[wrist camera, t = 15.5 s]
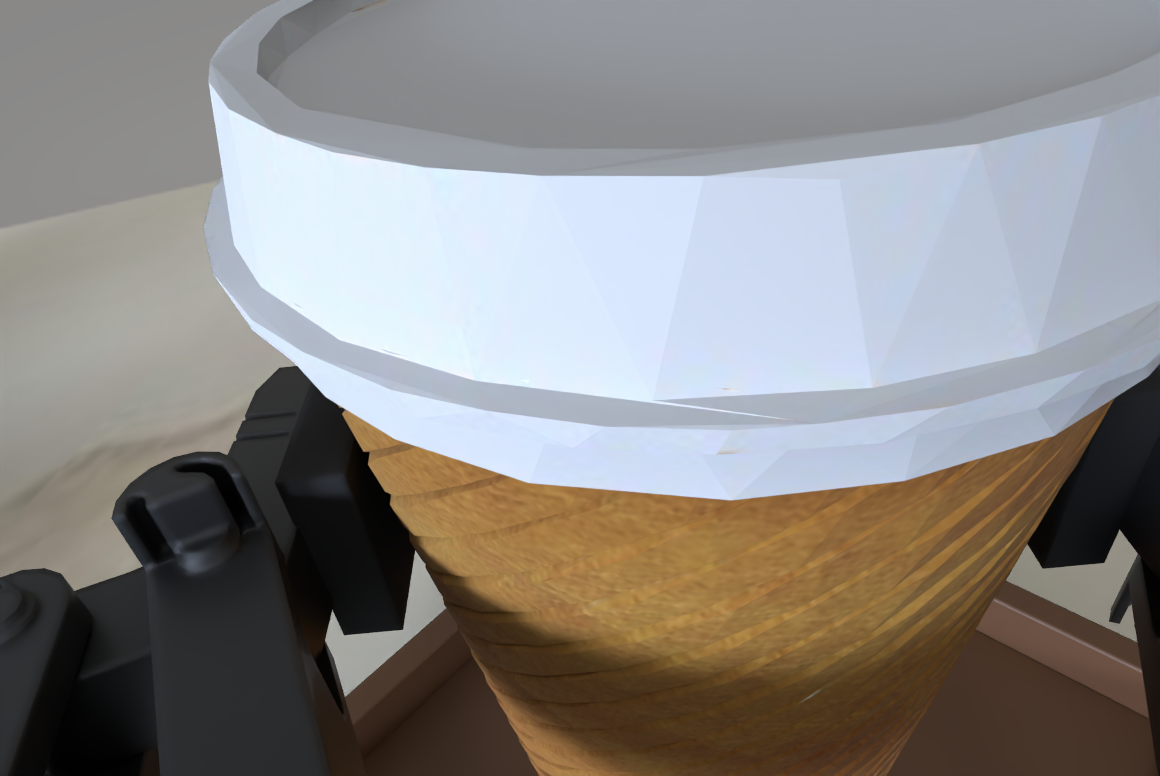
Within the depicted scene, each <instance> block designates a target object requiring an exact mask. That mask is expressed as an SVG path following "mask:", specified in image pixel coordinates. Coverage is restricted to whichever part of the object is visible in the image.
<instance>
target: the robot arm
mask: <svg viewBox="0 0 1160 776" xmlns="http://www.w3.org/2000/svg"><path fill="white" fill-rule="evenodd" d="M344 410H345V409H344V408H339V406H338V404H336V403H335V402H333V401H331V400H330V399H328V398H326V397H325V396H324V395H323V394H322V392H321V391H320V390H319V389H318V388H317V387H316V386H315V385H314V384H313V383H312V381H311V380H310V379H309V378H308V377H307V376H306V375H305V374H304V373H303V372H302V371H301V369H300V368H299V367H298V366H293V367H283V368H279V369H278V370H277V371H276V372H275V373H274V374H273V375H272V376H271V377H270V378H269V379H268V380H267V381H266V382H265V383H264V384H263V385H262V386H261V387H260V388H258V389H257V390H256V392H255V394H254V397H253V399H252V401H251V403H250V406H249V408H248V410H247V412H246V415H245V418H246V420H245V421H242V424H241V426H240V428H239V430H238V433H237V435H236V438H237V440H236V441H234V442H233V444H232V446H231V449H230V451H229V453H228V455H225V454H223V453H220V452H194V453H190V454H186V455H181V456H177V457H173V458H171V459H169V460H167V461H165V462H163V463H161V464H158V465H156V466H154V467H152V468H150V469H149V470H147V471H146V472H145V473H143V474H142V475H141V476H139V477H138V478H137V479H135V480H134V481H133V482H131V483H130V484H129V485H128V487H127V488H126V489H125V490H124V492H123V493H122V494H121V496H120V497H119V498H118V499H117V501H116V503H115V507H114V511H113V514H112V518H111V519H112V520H113V522H114V523H115V525H116V526H117V528H118V529H119V531H120V532H121V534H122V535H123V537H124V538H125V540H126V541H127V543H128V544H129V546H130V548H131V549H132V551H133V552H134V554H135V555H136V557H137V558H138V560H139V561H140V563H141V564H142V566H143V567H141V568H138V569H136V570H134V571H131V572H129V573H126V574H123V575H120V576H117V577H114V578H111V579H108V580H105V581H102V582H99V583H97V584H94V585H91V586H88V587H85V588H82V589H79V590H76V591H74V590H73V589H72V587H71V586H70V585H69V583H68V582H67V581H66V580H65V578H64V577H63V576H62V574H60V573H57V572H54V571H51V570H48V569H45V568H43V569H30V570H21V571H18V572H15V573H13V574H10V575H7V576H4V577H1V578H0V776H367V773H366V770H365V766H364V763H363V759H362V756H361V752H360V749H359V745H358V742H357V738H356V735H355V731H354V728H353V724H352V721H351V717H350V714H349V710H348V707H347V703H346V700H345V696H344V693H343V689H342V686H341V682H340V679H339V675H338V672H337V668H336V665H335V661H334V658H333V656H332V654H331V652H330V650H329V648H328V646H327V644H326V642H325V637H326V633H327V629H328V625H329V621H330V617H331V612H332V610H333V612H334V614H335V616H336V618H337V621H338V623H339V625H340V627H341V629H342V631H343V634H344V635H351V634H362V633H372V632H383V631H393V630H403V626H404V619H405V613H406V606H407V600H408V593H409V586H410V580H411V573H412V567H413V560H414V554H415V548H414V547H413V545H412V544H411V542H410V538H409V531H408V530H407V529H406V528H404V526H403V524H402V523H401V521H400V520H399V518H398V517H397V515H396V513H395V512H394V510H393V509H392V507H391V506H390V500H391V494H389V493H387V492H385V491H384V489H383V488H382V486H381V484H380V483H379V481H378V480H377V478H376V476H375V475H374V473H373V472H372V470H371V469H370V467H369V465H368V461H369V454H370V452H363V450H362V448H361V447H360V445H359V443H358V441H357V440H356V438H355V436H354V434H353V432H352V431H351V429H350V427H349V425H348V424H347V422H346V420H345V418H344V417H343V415H342V413H343V412H344ZM1119 529H1120V530H1121V532H1122V533H1123V534H1124V536H1125V537H1126V538H1127V540H1128V541H1129V542H1130V544H1131V545H1132V546H1133V548H1134V549H1135V550H1136V552H1137V553H1138V555H1137V557H1136V559H1135V561H1134V563H1133V565H1132V567H1131V569H1130V571H1129V573H1128V575H1127V577H1126V579H1125V581H1124V583H1123V585H1122V587H1121V589H1120V591H1119V593H1118V595H1117V597H1116V599H1115V602H1114V604H1113V606H1112V608H1111V613H1110V619H1109V622H1114V623H1118V624H1120V622H1121V620H1122V618H1123V616H1124V614H1125V612H1126V610H1127V608H1128V606H1130V605H1131V604H1132V609H1133V616H1134V622H1135V624H1134V627H1135V629H1136V635H1137V642H1138V648H1139V655H1140V661H1141V668H1142V674H1143V681H1144V687H1145V694H1146V700H1147V707H1148V713H1149V720H1150V726H1151V733H1152V739H1153V746H1154V752H1155V759H1156V765H1157V772H1158V776H1160V364H1159V365H1158V366H1157V367H1156V368H1155V370H1154V371H1153V372H1152V373H1151V374H1150V375H1149V376H1148V377H1147V378H1145V379H1144V380H1142V381H1140V382H1139V383H1137V384H1136V385H1134V386H1132V387H1131V388H1129V389H1128V390H1126V391H1125V392H1123V393H1121V394H1120V395H1118V396H1117V397H1115V398H1114V400H1113V402H1112V404H1111V405H1110V407H1109V409H1108V411H1107V412H1106V414H1105V416H1104V418H1103V419H1102V421H1101V423H1100V425H1099V427H1098V428H1097V430H1096V432H1095V434H1094V435H1093V437H1092V439H1091V441H1090V442H1089V444H1088V446H1087V448H1086V449H1085V451H1084V453H1083V455H1082V456H1081V458H1080V460H1079V462H1078V464H1077V465H1076V467H1075V468H1074V470H1073V471H1072V472H1071V474H1070V475H1069V477H1068V478H1067V479H1066V481H1065V482H1064V483H1063V485H1062V486H1061V488H1060V490H1059V491H1058V493H1057V495H1056V496H1055V498H1054V500H1053V501H1052V503H1051V505H1050V507H1049V508H1048V510H1047V512H1046V513H1045V515H1044V517H1043V518H1042V520H1041V522H1040V523H1039V525H1038V527H1037V528H1036V530H1035V531H1034V533H1033V534H1032V536H1031V538H1030V539H1029V541H1028V543H1027V544H1028V546H1029V547H1030V549H1031V551H1032V552H1033V554H1034V555H1035V557H1036V559H1037V560H1038V562H1039V563H1040V565H1041V567H1042V568H1043V569H1044V568H1055V567H1065V566H1076V565H1087V564H1097V563H1104V562H1105V560H1106V558H1107V555H1108V553H1109V551H1110V549H1111V547H1112V545H1113V542H1114V540H1115V538H1116V536H1117V534H1118V532H1119Z"/></svg>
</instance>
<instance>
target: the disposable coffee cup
mask: <svg viewBox="0 0 1160 776" xmlns="http://www.w3.org/2000/svg"><path fill="white" fill-rule="evenodd" d="M209 87H210V94H211V100H212V106H213V113H214V120H215V126H216V133H217V139H218V146H219V152H220V158H221V165H222V171H223V176H222V177H221V179H220V180H219V182H218V183H217V185H216V186H215V187H214V189H213V190H212V194H211V198H210V202H209V207H208V211H207V215H206V219H205V224H204V228H203V230H204V234H205V239H206V243H207V248H208V253H209V257H210V262H211V267H212V271H213V274H214V276H215V277H216V279H217V280H218V281H219V283H220V284H221V286H222V287H223V288H224V290H225V291H226V293H227V294H228V296H229V297H230V298H231V300H232V301H233V303H234V304H235V305H236V307H237V308H238V310H239V311H240V313H241V314H242V315H243V317H244V318H245V320H246V321H247V323H248V324H249V325H250V327H251V328H252V330H253V331H254V332H255V333H257V334H258V335H259V336H261V337H262V338H263V339H265V340H266V341H267V342H268V343H270V344H271V345H272V346H274V347H275V348H276V349H278V350H279V351H280V352H282V353H283V354H284V355H286V356H287V357H288V358H290V359H291V360H292V361H293V362H294V363H295V364H296V365H297V366H298V367H299V368H300V369H301V371H302V372H303V373H304V374H305V375H306V376H307V377H308V378H309V379H310V380H311V381H312V383H313V384H314V385H315V386H316V387H317V388H318V389H319V390H320V391H321V392H322V394H323V395H324V396H325V397H326V398H328V399H330V400H331V401H333V402H335V403H336V404H338V406H339V408H344V409H345V410H344V412H343V413H342V415H343V417H344V418H345V420H346V422H347V424H348V425H349V427H350V429H351V431H352V432H353V434H354V436H355V438H356V440H357V441H358V443H359V445H360V447H361V448H362V450H363V452H370V454H369V461H368V465H369V467H370V469H371V470H372V472H373V473H374V475H375V476H376V478H377V480H378V481H379V483H380V484H381V486H382V488H383V489H384V491H385V492H387V493H389V494H391V500H390V506H391V507H392V509H393V510H394V512H395V513H396V515H397V517H398V518H399V520H400V521H401V523H402V524H403V526H404V528H406V529H407V530H408V531H409V538H410V542H411V544H412V545H413V547H414V548H415V550H416V552H417V553H418V555H419V556H420V558H421V559H422V561H423V562H424V563H425V564H426V569H427V571H428V573H429V575H430V576H431V578H432V580H433V582H434V583H435V585H436V587H437V589H438V590H439V592H440V593H441V595H442V596H443V600H444V605H445V606H446V608H447V609H448V611H449V612H450V614H451V615H452V617H453V618H454V620H455V621H456V623H457V628H458V630H459V631H460V633H461V634H462V636H463V638H464V639H465V641H466V642H467V644H468V645H469V647H470V649H471V653H472V656H473V657H474V659H475V660H476V662H477V663H478V665H479V666H480V668H481V669H482V671H483V672H484V675H485V678H486V681H487V684H488V685H489V686H490V688H491V689H492V690H493V692H494V693H495V694H496V698H497V701H498V703H499V704H500V706H501V707H502V709H503V710H504V712H505V713H506V715H507V718H508V721H509V723H510V724H511V726H512V728H513V729H514V731H515V732H516V734H517V735H518V738H519V741H520V743H521V744H522V746H523V747H524V749H525V751H526V752H527V754H528V757H529V759H530V761H531V763H532V764H533V766H534V768H535V769H536V771H537V773H538V776H886V775H887V774H888V772H889V770H890V769H891V767H892V765H893V763H894V762H895V760H896V758H897V757H898V755H899V753H900V752H901V750H902V748H903V747H904V745H905V743H906V742H907V740H908V739H909V737H910V735H911V734H912V732H913V730H914V729H915V727H916V725H917V724H918V722H919V721H920V719H921V718H922V717H923V715H924V714H925V712H926V711H927V709H928V707H929V705H930V704H931V702H932V700H933V699H934V697H935V695H936V694H937V692H938V690H939V689H940V687H941V685H942V684H943V682H944V680H945V679H946V677H947V675H948V673H949V672H950V670H951V668H952V667H953V665H954V663H955V662H956V660H957V658H958V657H959V655H960V653H961V652H962V650H963V648H964V646H965V645H966V643H967V642H968V640H969V638H970V637H971V636H972V634H973V633H974V631H975V629H976V628H977V626H978V624H979V622H980V621H981V619H982V617H983V616H984V614H985V612H986V611H987V609H988V607H989V606H990V604H991V602H992V601H993V599H994V598H995V596H996V595H997V594H998V592H999V591H1000V589H1001V588H1002V586H1003V584H1004V583H1005V581H1006V579H1007V577H1008V576H1009V574H1010V572H1011V570H1012V569H1013V567H1014V565H1015V563H1016V562H1017V560H1018V558H1019V557H1020V555H1021V553H1022V551H1023V550H1024V548H1025V546H1026V545H1027V543H1028V541H1029V539H1030V538H1031V536H1032V534H1033V533H1034V531H1035V530H1036V528H1037V527H1038V525H1039V523H1040V522H1041V520H1042V518H1043V517H1044V515H1045V513H1046V512H1047V510H1048V508H1049V507H1050V505H1051V503H1052V501H1053V500H1054V498H1055V496H1056V495H1057V493H1058V491H1059V490H1060V488H1061V486H1062V485H1063V483H1064V482H1065V481H1066V479H1067V478H1068V477H1069V475H1070V474H1071V472H1072V471H1073V470H1074V468H1075V467H1076V465H1077V464H1078V462H1079V460H1080V458H1081V456H1082V455H1083V453H1084V451H1085V449H1086V448H1087V446H1088V444H1089V442H1090V441H1091V439H1092V437H1093V435H1094V434H1095V432H1096V430H1097V428H1098V427H1099V425H1100V423H1101V421H1102V419H1103V418H1104V416H1105V414H1106V412H1107V411H1108V409H1109V407H1110V405H1111V404H1112V402H1113V400H1114V398H1115V397H1117V396H1118V395H1120V394H1121V393H1123V392H1125V391H1126V390H1128V389H1129V388H1131V387H1132V386H1134V385H1136V384H1137V383H1139V382H1140V381H1142V380H1144V379H1145V378H1147V377H1148V376H1149V375H1150V374H1151V373H1152V372H1153V371H1154V370H1155V368H1156V367H1157V366H1158V365H1159V364H1160V0H280V1H278V2H276V3H274V4H273V5H270V6H268V7H267V8H265V9H262V10H260V11H258V12H257V13H255V14H254V15H253V16H252V17H251V18H249V19H248V20H247V21H246V22H245V23H243V24H242V25H241V26H240V27H238V29H236V30H235V31H234V32H232V33H231V34H230V35H229V36H227V37H226V38H225V39H224V40H223V41H222V43H221V44H220V47H219V48H218V49H217V51H216V53H215V54H214V56H213V57H212V59H211V61H210V67H209Z"/></svg>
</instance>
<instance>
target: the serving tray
mask: <svg viewBox="0 0 1160 776" xmlns="http://www.w3.org/2000/svg"><path fill="white" fill-rule="evenodd" d="M345 700H346V703H347V707H348V710H349V714H350V717H351V721H352V724H353V728H354V731H355V735H356V738H357V742H358V745H359V749H360V752H361V756H362V759H363V763H364V766H365V770H366V773H367V776H538V773H537V771H536V769H535V768H534V766H533V764H532V763H531V761H530V759H529V757H528V754H527V752H526V751H525V749H524V747H523V746H522V744H521V743H520V741H519V738H518V735H517V734H516V732H515V731H514V729H513V728H512V726H511V724H510V723H509V721H508V718H507V715H506V713H505V712H504V710H503V709H502V707H501V706H500V704H499V703H498V701H497V698H496V694H495V693H494V692H493V690H492V689H491V688H490V686H489V685H488V684H487V681H486V678H485V675H484V672H483V671H482V669H481V668H480V666H479V665H478V663H477V662H476V660H475V659H474V657H473V656H472V653H471V649H470V647H469V645H468V644H467V642H466V641H465V639H464V638H463V636H462V634H461V633H460V631H459V630H458V628H457V623H456V621H455V620H454V618H453V617H452V615H451V614H450V612H449V611H448V609H447V608H446V609H445V610H444V611H443V612H442V613H441V614H439V615H438V616H437V617H436V618H435V619H434V620H433V621H431V622H430V623H429V624H428V625H427V626H426V627H425V628H423V629H422V630H421V631H420V632H419V633H418V634H417V635H415V636H414V637H413V638H412V639H411V640H410V641H409V642H408V643H406V644H405V645H404V646H403V647H402V648H401V649H400V650H398V651H397V652H396V653H395V654H394V655H393V656H392V657H390V658H389V659H388V660H387V661H386V662H385V663H384V664H382V665H381V666H380V667H379V668H378V669H377V670H376V671H374V672H373V673H372V674H371V675H370V676H369V677H368V678H366V679H365V680H364V681H363V682H362V683H361V684H360V685H359V686H357V687H356V688H355V689H354V690H353V691H352V692H351V693H349V694H348V695H347V696H346V697H345ZM886 776H1158V772H1157V765H1156V759H1155V752H1154V746H1153V739H1152V733H1151V726H1150V720H1149V713H1148V707H1147V700H1146V694H1145V687H1144V681H1143V674H1142V668H1141V661H1140V655H1139V648H1138V643H1137V642H1135V641H1133V640H1131V639H1129V638H1127V637H1124V636H1122V635H1120V634H1118V633H1116V632H1114V631H1112V630H1110V629H1107V628H1105V627H1103V626H1101V625H1099V624H1097V623H1095V622H1093V621H1090V620H1088V619H1086V618H1084V617H1082V616H1080V615H1078V614H1076V613H1073V612H1071V611H1069V610H1067V609H1065V608H1063V607H1061V606H1059V605H1056V604H1054V603H1052V602H1050V601H1048V600H1046V599H1044V598H1042V597H1039V596H1037V595H1035V594H1033V593H1031V592H1029V591H1027V590H1025V589H1022V588H1020V587H1018V586H1016V585H1014V584H1012V583H1010V582H1008V581H1005V583H1004V584H1003V586H1002V588H1001V589H1000V591H999V592H998V594H997V595H996V596H995V598H994V599H993V601H992V602H991V604H990V606H989V607H988V609H987V611H986V612H985V614H984V616H983V617H982V619H981V621H980V622H979V624H978V626H977V628H976V629H975V631H974V633H973V634H972V636H971V637H970V638H969V640H968V642H967V643H966V645H965V646H964V648H963V650H962V652H961V653H960V655H959V657H958V658H957V660H956V662H955V663H954V665H953V667H952V668H951V670H950V672H949V673H948V675H947V677H946V679H945V680H944V682H943V684H942V685H941V687H940V689H939V690H938V692H937V694H936V695H935V697H934V699H933V700H932V702H931V704H930V705H929V707H928V709H927V711H926V712H925V714H924V715H923V717H922V718H921V719H920V721H919V722H918V724H917V725H916V727H915V729H914V730H913V732H912V734H911V735H910V737H909V739H908V740H907V742H906V743H905V745H904V747H903V748H902V750H901V752H900V753H899V755H898V757H897V758H896V760H895V762H894V763H893V765H892V767H891V769H890V770H889V772H888V774H887V775H886Z"/></svg>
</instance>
